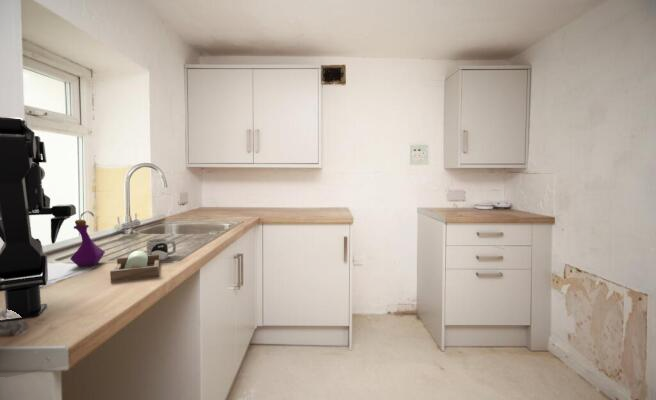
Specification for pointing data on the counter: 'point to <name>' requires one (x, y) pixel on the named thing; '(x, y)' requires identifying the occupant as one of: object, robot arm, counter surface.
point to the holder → (135, 269)
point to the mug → (160, 248)
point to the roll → (137, 260)
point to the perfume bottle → (86, 246)
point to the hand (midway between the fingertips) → (31, 244)
